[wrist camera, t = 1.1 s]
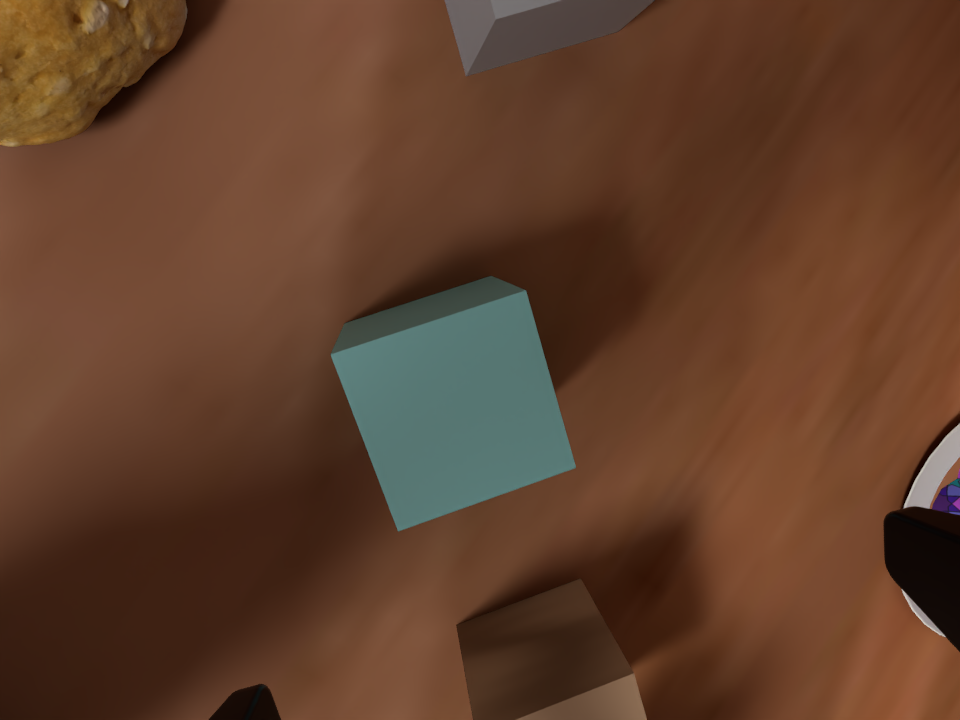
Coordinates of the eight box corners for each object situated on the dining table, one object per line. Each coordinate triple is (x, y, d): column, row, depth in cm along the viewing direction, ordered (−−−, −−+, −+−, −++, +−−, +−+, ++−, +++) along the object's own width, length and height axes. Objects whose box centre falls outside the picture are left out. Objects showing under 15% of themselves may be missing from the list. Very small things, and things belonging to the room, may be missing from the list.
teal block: (395, 458, 20) (397, 531, 15) (345, 322, 19) (330, 354, 14) (531, 412, 20) (575, 467, 16) (490, 275, 19) (526, 290, 14)
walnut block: (493, 725, 23) (522, 856, 18) (455, 623, 22) (475, 735, 17) (610, 680, 23) (668, 795, 19) (580, 577, 22) (633, 673, 17)
